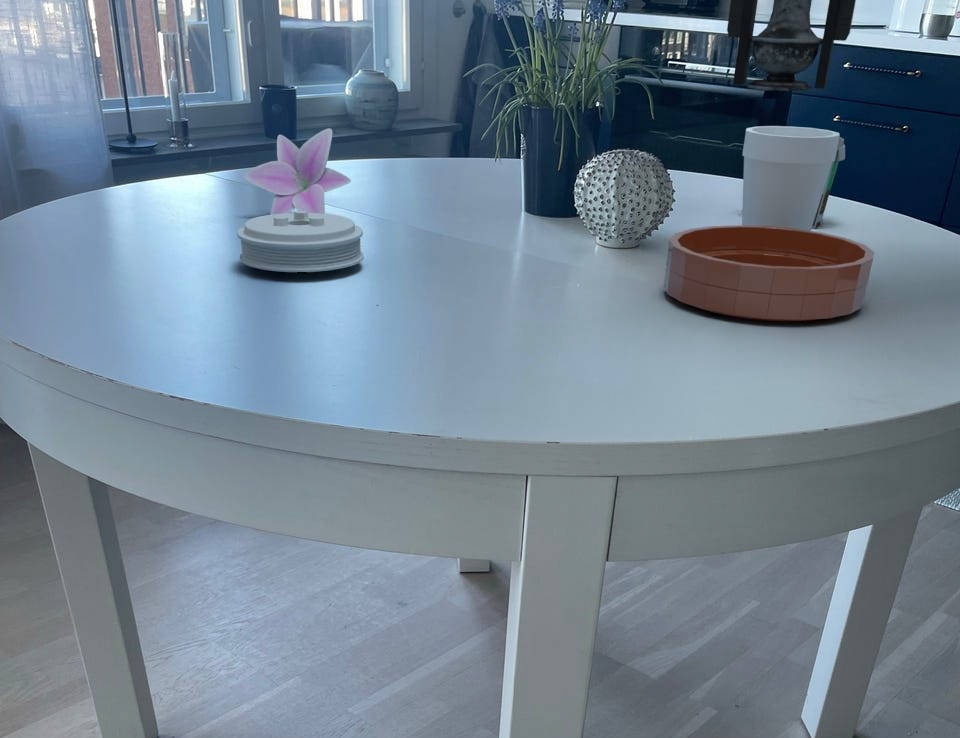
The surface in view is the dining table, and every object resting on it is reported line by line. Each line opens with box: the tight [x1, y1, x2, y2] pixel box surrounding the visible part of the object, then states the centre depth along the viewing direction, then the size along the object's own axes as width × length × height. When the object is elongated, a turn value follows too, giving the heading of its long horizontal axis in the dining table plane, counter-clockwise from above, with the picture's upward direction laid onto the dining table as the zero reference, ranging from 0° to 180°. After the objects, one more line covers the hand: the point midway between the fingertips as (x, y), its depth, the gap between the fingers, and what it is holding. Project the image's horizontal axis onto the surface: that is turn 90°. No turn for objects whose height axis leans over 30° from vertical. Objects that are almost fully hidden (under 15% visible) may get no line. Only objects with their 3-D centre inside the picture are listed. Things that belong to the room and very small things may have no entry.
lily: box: [242, 127, 352, 215], centre depth 125 cm, size 12×12×10 cm
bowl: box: [663, 224, 875, 322], centre depth 97 cm, size 19×19×5 cm
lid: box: [236, 210, 365, 273], centre depth 104 cm, size 13×13×5 cm
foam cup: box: [741, 125, 841, 231], centre depth 107 cm, size 10×9×13 cm
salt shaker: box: [746, 0, 823, 92], centre depth 82 cm, size 6×6×12 cm
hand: (779, 84), depth 85 cm, fingers closed on salt shaker, 6 cm apart
